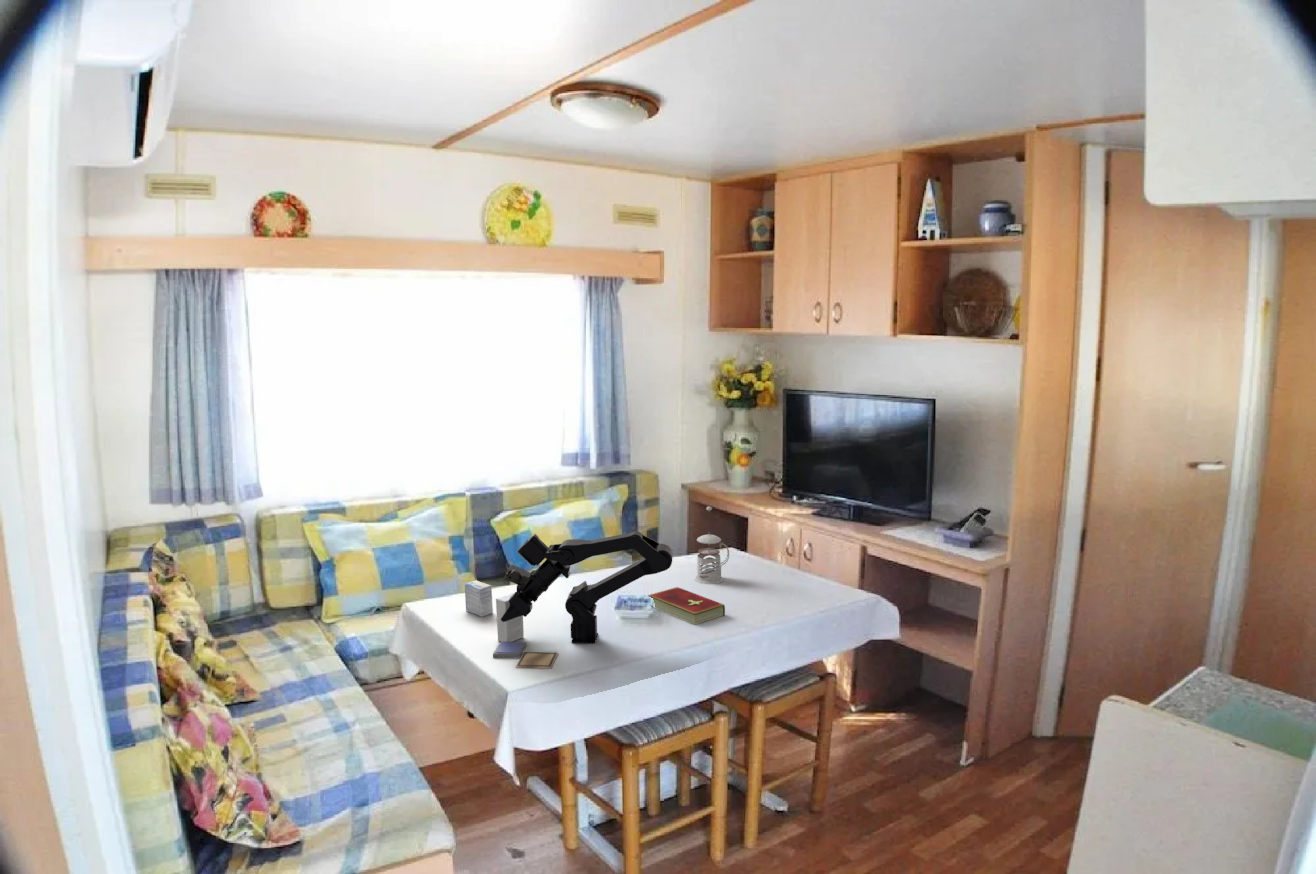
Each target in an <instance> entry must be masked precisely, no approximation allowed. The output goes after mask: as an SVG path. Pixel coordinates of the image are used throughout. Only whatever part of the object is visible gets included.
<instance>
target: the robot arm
mask: <svg viewBox="0 0 1316 874" xmlns="http://www.w3.org/2000/svg"><path fill="white" fill-rule="evenodd" d="M632 549H633V550H634V551H635V552H637V553H638V554H639V555H641V556H642V557H641V558H640V559H638V560H637V561H635V562H633V563H632V564H630V565H628V566H626V567H624V568H623V569H621V570H618V571H616V572H615V573H612V574H611V575H609V576H607V577H605V578H603V579H602V580H600V581H597V582H595V583H594V584H588V583H587V581H586V580H585V581H582V582H581V583H580V584H578V585H576V586H572V589H571V590H570V592H569V593H568V595H567V599H566V601H565V606H564V607H565V610H566V612H567V613H568V615H571V618H572V620H571V623H570V639H571V643H572V644H596V642H597V640H598V637H599V632H598V616H597V615H595V613H596V610H597V604H596V603H597V602H598V601H599V600H601V599H603V598H604V597H606V596H609V595H610V594H612V593H614V592H616V591H618V590H620V589H621V588H623V587H625V586H627V585H629V584H631V583H632V582H635V581H636V580H638V579H640V578H642V577H644V576H648V575H650V576H651V575H655V574H659V573H661V572H665V571H667V570H668V569H670V568H671V566H672V564H673V551H672V548H671V547H670V546H669V545H667V544H665V543H659V542H658V541H656V540H654V539H653V538H650V537H648V536H646V535H645V534H643V533H641V532H640V531H637V530H634V531H631V532H629V533H628V532H626V533H623V534H617V535H612V536H607V537H602V538H596V539H588V540H587V539H581V538H577V539H575V538H574V539H565V540H563V541H562V542H561V543H556V544H550V545H546V543H545V542H543V541H542V540H541V539H540V537H539V536H538V535H537V534H535V533H534V534H533V535H532V536H531V537H529V538H528V539H527V540H526V541H524V543H523V544H522V545H521V546H520V547H519V548H518V549H517V550H516V553H517V554H518V555H519V556H520V557H522V559H524V560H525V561H526V562H527V563H528V564H529V565H530V567H532V566H538V567H537V568H536V569H533V570H532V571H530V572H529V571H527V570H525V569H523V568H521V567H519V566H517V565H515V564H510V566H509V567H508V569H507V571H506V574H505V576H504V580H505V581H506V582H510V583H513V584H516V591H515V592H513V593H514V594H513V595H512V596H511V597H510V599H509V603H510V606H509V608H508V609H507V611H506V612H505V613H504V615H503V616H502V618H501V621H502V622H505V621H508V620H511V619H513V618H516V617H520V616H523V617H527V616H528V615H529V614H530V613H531V611H532V609H533V602H534V603H536V602H537V601H538V600H539V599H538V598H540V596H541V595H543V593H546V592H547V591H548V590H549V587H550V586H551V585H552V584H553V583H554V582H555V581H556V580H557V579H558V578H560V576H561V575H562V576H564V578H565V579H568V578H570V575H571V572H570V571H571V566H573V565H575V564H578V563H579V564H580V563H581V562H583V561H584V560H587V559H589V558H592V557H595V556H600V555H607V554H612V553H618V552H623V551H628V550H632ZM545 559H546V560H545ZM541 563H542V564H541Z"/></svg>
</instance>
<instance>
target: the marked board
mask: <svg viewBox="0 0 1316 874" xmlns="http://www.w3.org/2000/svg"><path fill="white" fill-rule="evenodd" d="M558 655H559V652H546V651H545V652H543V651H541V652H540V651H539V652H538V651H523V653H522V655H521V656H520V658H519V660H518V662H517V664H516V665H515V668H517V669H552V668H553V665H554V664H555V661H556V659H557V657H558Z"/></svg>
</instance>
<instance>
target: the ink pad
mask: <svg viewBox="0 0 1316 874" xmlns="http://www.w3.org/2000/svg"><path fill="white" fill-rule="evenodd" d="M526 648H527V642H526V641H513V642H502V641H499V643H498V645H497V647H496V648H495V650H494V651H493V652H492V658H505V659H507V658H510V659H513V658H514V659H520V658H521V656H522V655H523V653H524V652H525V649H526Z"/></svg>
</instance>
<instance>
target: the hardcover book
mask: <svg viewBox="0 0 1316 874" xmlns="http://www.w3.org/2000/svg"><path fill="white" fill-rule="evenodd" d="M648 597H649V598H650V597H651V598H653V600H654V603H655V608H654V609H655V610H659V611H661V612H664V613H666V614H668V615H671V616H673V617H676V618H677V619H681V620H683V621H686V622H687V623H690V624H693V625H699V624H701V623H704V622H707V621H710V620H713V619H716V618H720V617H725V616H726V615H725V614H726V605H725V604H724V603H722V602H721V603H720V602H718V601H715V600H713V599H710V598H708V597H706V596H705V597H704V596H702V595H699V594H697V593H694V592H692V591H688V590H686V589H684V588H681V587H679V586H675V587H673V588H668V589H665V590H661V591H658V592H655V593H651V594H648Z"/></svg>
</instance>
